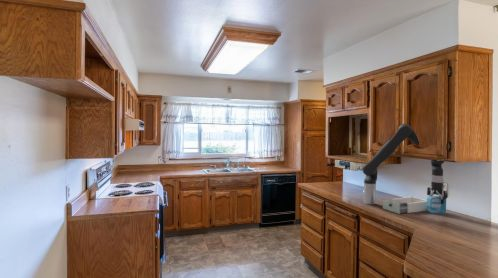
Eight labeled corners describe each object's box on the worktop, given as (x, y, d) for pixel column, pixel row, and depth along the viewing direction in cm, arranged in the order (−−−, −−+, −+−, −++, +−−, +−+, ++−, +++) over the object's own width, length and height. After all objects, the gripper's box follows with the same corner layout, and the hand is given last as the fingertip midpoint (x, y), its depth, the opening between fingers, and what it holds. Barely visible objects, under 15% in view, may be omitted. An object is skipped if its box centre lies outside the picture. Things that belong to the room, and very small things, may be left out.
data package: (430, 213, 217) (430, 197, 217) (426, 211, 222) (426, 196, 221) (446, 213, 217) (446, 197, 217) (441, 211, 222) (442, 196, 221)
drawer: (381, 208, 228) (381, 199, 228) (403, 206, 236) (403, 197, 236) (397, 214, 214) (397, 204, 214) (420, 211, 222) (420, 201, 222)
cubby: (391, 207, 232) (392, 199, 231) (411, 205, 240) (412, 196, 239) (408, 212, 218) (408, 203, 217) (428, 210, 226) (429, 201, 226)
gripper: (424, 180, 223) (424, 200, 224) (443, 183, 210) (442, 205, 211) (431, 179, 226) (431, 200, 227) (450, 182, 213) (449, 204, 213)
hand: (436, 202), depth 219 cm, fingers open, 8 cm apart
